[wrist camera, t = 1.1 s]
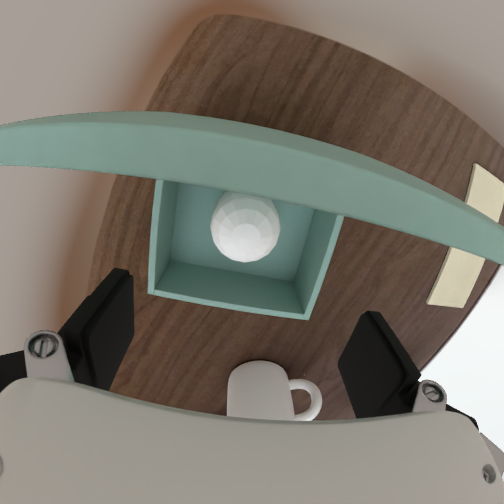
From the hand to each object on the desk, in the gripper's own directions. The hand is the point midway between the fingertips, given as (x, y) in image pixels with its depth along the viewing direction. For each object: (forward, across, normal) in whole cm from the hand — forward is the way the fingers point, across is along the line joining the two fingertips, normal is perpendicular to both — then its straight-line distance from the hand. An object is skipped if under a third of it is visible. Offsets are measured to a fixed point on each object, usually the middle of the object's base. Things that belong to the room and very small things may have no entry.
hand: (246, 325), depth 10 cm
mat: (+17, -31, -4) cm, 36 cm away
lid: (+3, 0, -6) cm, 7 cm away
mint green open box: (+17, 0, 0) cm, 17 cm away
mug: (+18, -8, +22) cm, 29 cm away
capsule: (+17, 0, 0) cm, 17 cm away
